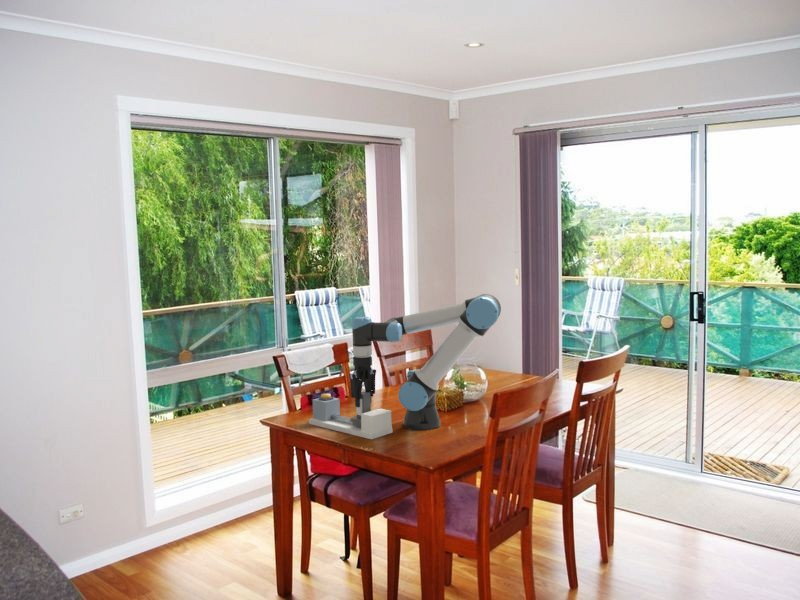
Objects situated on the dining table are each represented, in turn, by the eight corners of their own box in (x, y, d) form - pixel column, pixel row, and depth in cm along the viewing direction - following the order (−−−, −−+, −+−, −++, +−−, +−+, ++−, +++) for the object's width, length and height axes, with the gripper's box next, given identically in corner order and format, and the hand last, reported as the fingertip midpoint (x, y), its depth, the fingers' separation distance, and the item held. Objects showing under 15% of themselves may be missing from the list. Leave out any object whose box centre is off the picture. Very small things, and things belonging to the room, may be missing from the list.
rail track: (392, 432, 289) (392, 410, 288) (371, 439, 280) (371, 416, 279) (330, 418, 312) (330, 397, 311) (309, 423, 303) (309, 402, 302)
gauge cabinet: (340, 417, 305) (339, 398, 305) (325, 421, 299) (325, 402, 299) (327, 414, 311) (326, 396, 310) (313, 418, 305) (312, 399, 304)
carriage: (377, 424, 291) (376, 392, 290) (363, 429, 285) (362, 395, 284) (364, 421, 296) (363, 389, 294) (350, 426, 290) (349, 393, 288)
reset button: (333, 406, 305) (333, 394, 304) (325, 407, 302) (325, 396, 301) (326, 404, 307) (326, 393, 307) (319, 406, 304) (318, 394, 304)
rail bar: (372, 427, 289) (372, 422, 288) (369, 428, 287) (369, 423, 287) (334, 418, 303) (334, 414, 303) (331, 419, 302) (331, 415, 301)
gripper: (370, 351, 297) (371, 407, 299) (340, 357, 284) (341, 416, 286) (383, 353, 292) (385, 410, 294) (353, 359, 279) (355, 419, 281)
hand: (363, 413), depth 290 cm, fingers closed on carriage, 4 cm apart
